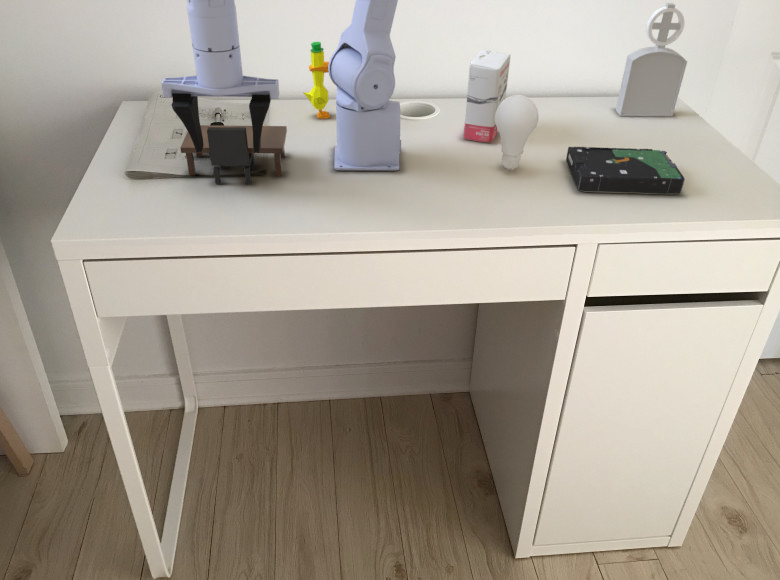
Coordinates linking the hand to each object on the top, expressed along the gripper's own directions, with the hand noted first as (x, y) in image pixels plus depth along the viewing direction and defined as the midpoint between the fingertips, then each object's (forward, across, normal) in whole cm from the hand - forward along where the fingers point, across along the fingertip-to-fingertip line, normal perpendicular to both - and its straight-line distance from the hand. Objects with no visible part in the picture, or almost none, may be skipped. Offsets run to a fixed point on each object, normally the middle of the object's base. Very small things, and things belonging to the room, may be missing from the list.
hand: (228, 149), depth 97 cm
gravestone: (+5, -68, -28) cm, 74 cm away
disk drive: (+5, -56, -2) cm, 56 cm away
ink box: (+5, -38, -19) cm, 43 cm away
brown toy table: (+5, 0, -6) cm, 8 cm away
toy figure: (+5, -12, -25) cm, 28 cm away
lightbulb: (+5, -40, -5) cm, 41 cm away
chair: (+5, 0, -3) cm, 6 cm away
